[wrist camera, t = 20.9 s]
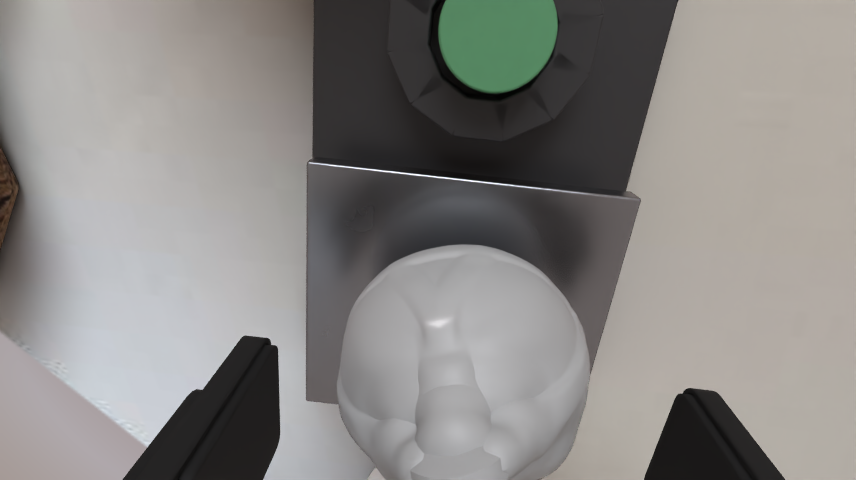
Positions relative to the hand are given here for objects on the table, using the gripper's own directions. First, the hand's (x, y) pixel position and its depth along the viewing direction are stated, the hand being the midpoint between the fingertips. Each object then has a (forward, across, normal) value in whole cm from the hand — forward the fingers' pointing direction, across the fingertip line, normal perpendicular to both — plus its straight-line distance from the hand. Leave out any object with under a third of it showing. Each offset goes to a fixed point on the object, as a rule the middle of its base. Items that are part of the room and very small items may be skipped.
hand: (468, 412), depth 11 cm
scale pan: (+6, 0, 0) cm, 6 cm away
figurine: (+5, 0, 0) cm, 5 cm away
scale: (+9, 0, -3) cm, 9 cm away
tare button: (+6, 0, -8) cm, 10 cm away
